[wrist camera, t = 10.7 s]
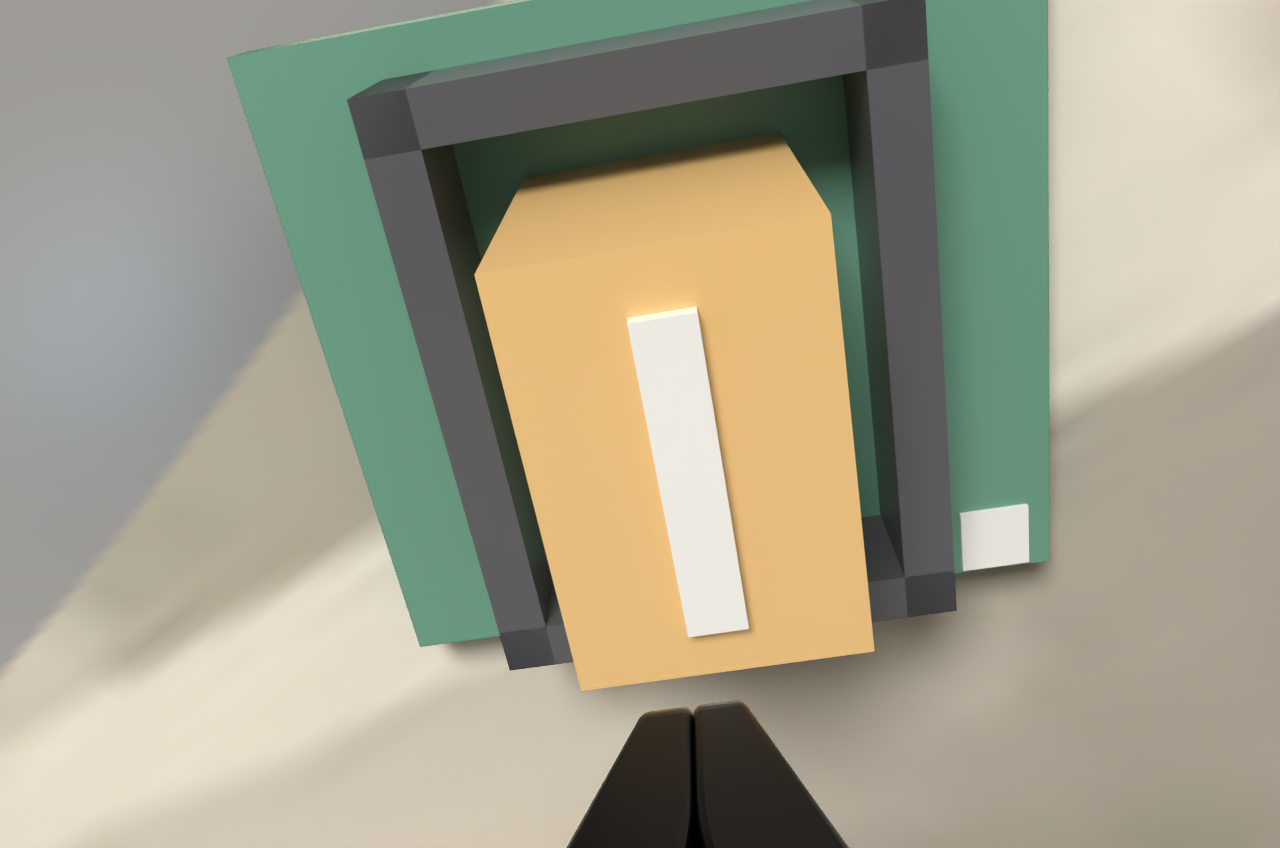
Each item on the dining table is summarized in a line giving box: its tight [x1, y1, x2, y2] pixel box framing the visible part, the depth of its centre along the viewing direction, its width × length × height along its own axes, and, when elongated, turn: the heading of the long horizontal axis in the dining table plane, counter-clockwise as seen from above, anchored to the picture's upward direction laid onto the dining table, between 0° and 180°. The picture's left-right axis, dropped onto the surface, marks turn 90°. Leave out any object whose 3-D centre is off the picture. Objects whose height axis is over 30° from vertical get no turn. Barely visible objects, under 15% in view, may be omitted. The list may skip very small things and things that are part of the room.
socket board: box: [227, 0, 1050, 670], centre depth 17 cm, size 11×12×3 cm
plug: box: [474, 132, 875, 691], centre depth 15 cm, size 6×4×5 cm, turn 10°
